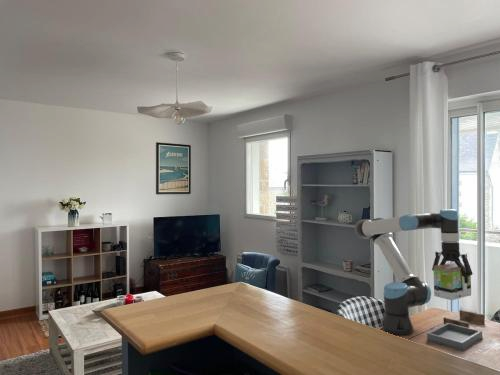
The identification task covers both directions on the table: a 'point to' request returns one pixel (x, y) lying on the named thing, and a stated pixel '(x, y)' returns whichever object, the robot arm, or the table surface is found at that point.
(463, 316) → the walnut holder
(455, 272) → the tea box
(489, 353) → the table surface
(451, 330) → the charcoal tray
